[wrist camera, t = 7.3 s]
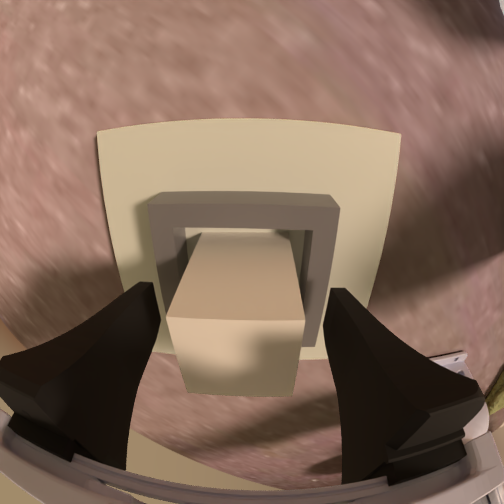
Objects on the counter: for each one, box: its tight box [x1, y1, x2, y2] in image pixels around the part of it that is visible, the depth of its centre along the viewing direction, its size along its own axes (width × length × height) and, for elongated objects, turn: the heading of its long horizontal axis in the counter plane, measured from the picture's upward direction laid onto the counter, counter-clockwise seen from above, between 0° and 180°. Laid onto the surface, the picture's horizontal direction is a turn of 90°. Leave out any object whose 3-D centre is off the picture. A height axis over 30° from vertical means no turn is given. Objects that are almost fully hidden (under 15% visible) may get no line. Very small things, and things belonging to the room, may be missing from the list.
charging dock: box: [97, 118, 401, 360], centre depth 13 cm, size 14×14×3 cm
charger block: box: [166, 232, 305, 397], centre depth 11 cm, size 4×4×6 cm
